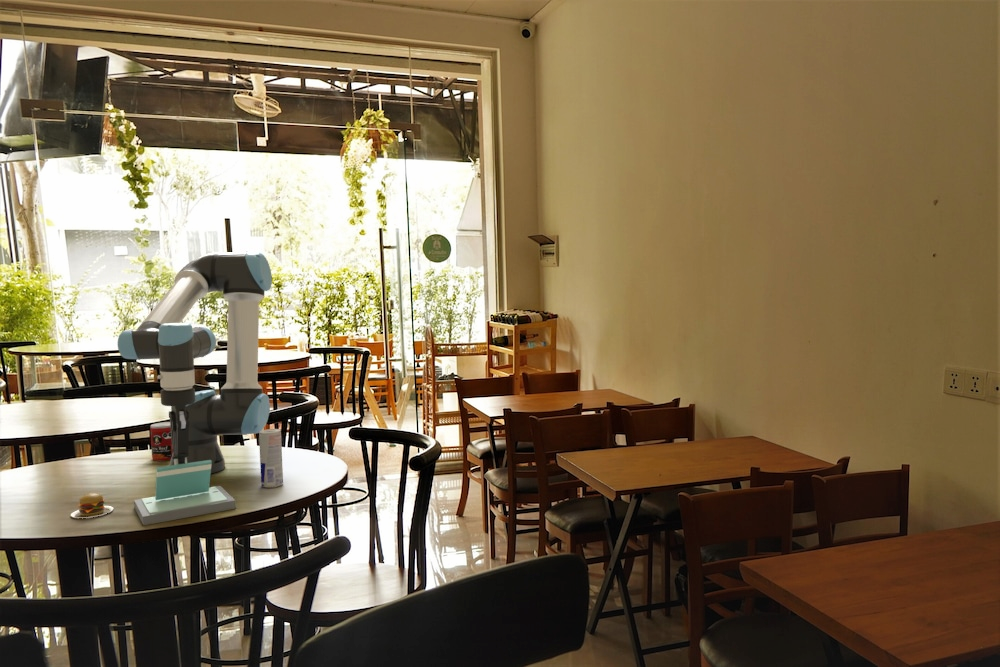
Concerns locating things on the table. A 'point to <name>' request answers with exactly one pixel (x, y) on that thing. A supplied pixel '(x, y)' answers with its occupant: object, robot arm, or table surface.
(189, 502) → the board
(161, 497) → the stub
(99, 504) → the hamburger
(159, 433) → the canned food
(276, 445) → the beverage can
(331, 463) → the table surface
